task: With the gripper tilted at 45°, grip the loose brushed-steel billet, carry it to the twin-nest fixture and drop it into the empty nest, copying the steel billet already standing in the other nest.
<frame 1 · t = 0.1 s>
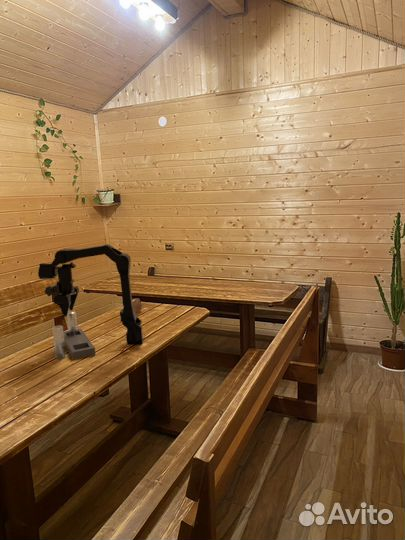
hand: (68, 313, 170), 15 cm above the table, tool pointing down, fingers open, 9 cm apart
twin nest fixture: (77, 346, 172), on the table
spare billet: (60, 357, 160), on the table
tin: (134, 315, 216), on the table
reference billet: (73, 339, 180), resting in twin nest fixture
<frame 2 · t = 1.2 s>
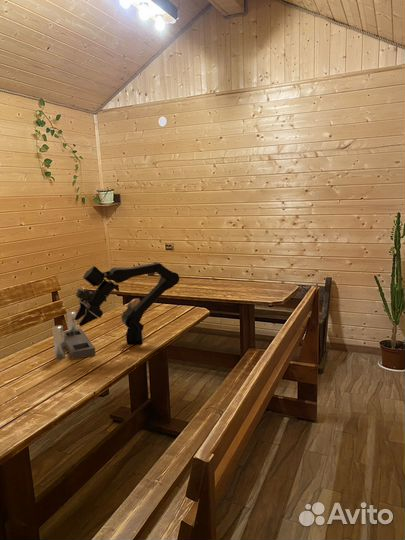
hand: (77, 322, 161), 13 cm above the table, tool tilted 45°, fingers open, 9 cm apart
nothing on the table moved.
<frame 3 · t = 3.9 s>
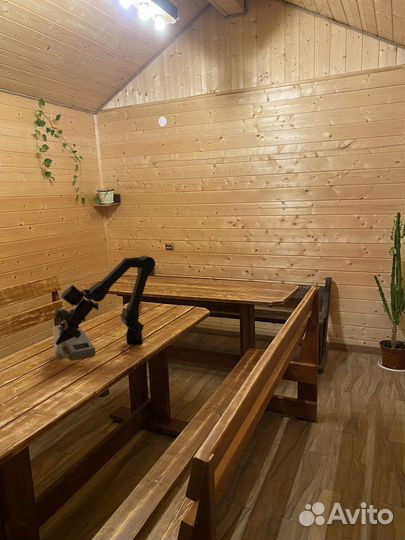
hand: (55, 342, 158), 7 cm above the table, tool tilted 45°, fingers closed on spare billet, 4 cm apart
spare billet: (60, 357, 160), on the table, touching gripper
everything else where it was.
when the fingers open (8 cm above the table, at t = 7.3 s): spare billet drops 1 cm, resting in twin nest fixture.
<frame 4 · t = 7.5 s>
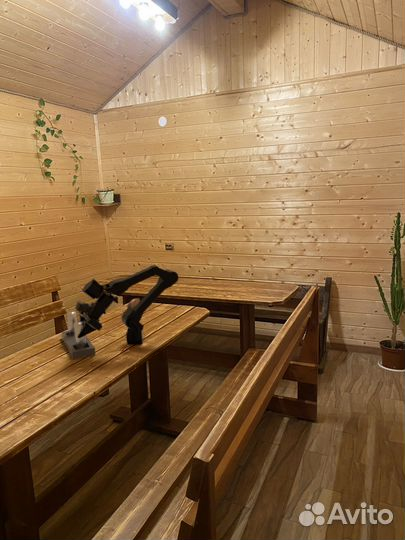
hand: (76, 335, 162), 8 cm above the table, tool tilted 45°, fingers open, 6 cm apart
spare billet: (82, 352, 164), resting in twin nest fixture
everything else where it was.
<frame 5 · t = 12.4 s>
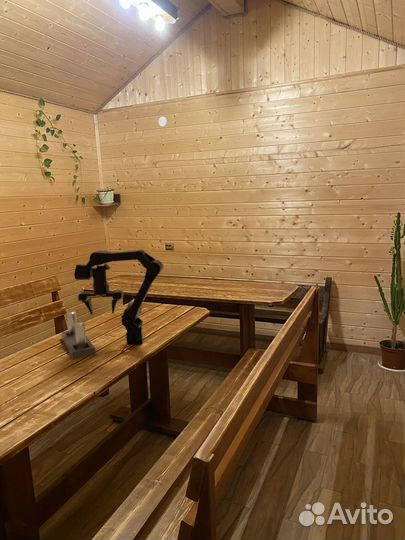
hand: (102, 314, 174), 13 cm above the table, tool pointing down, fingers open, 9 cm apart
nothing on the table moved.
at the end: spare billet 0.1 cm from the target spot, resting in twin nest fixture; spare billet tilted 0°; the gripper is holding nothing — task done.
